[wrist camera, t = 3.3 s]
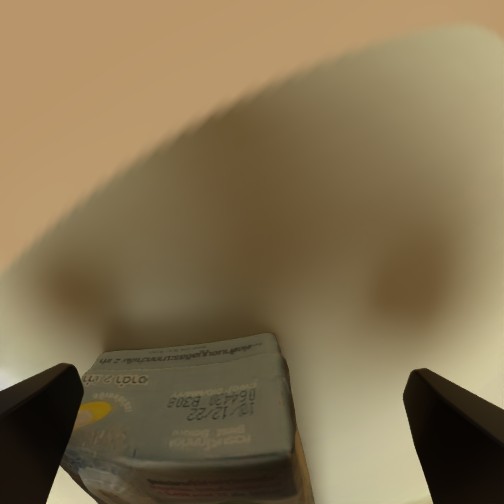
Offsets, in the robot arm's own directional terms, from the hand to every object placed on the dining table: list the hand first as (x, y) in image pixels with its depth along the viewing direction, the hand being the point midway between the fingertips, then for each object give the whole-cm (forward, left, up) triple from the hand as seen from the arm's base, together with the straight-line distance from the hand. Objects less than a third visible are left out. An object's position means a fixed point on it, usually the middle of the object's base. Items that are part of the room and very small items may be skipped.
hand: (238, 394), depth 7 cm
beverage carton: (-1, -10, -4) cm, 11 cm away
